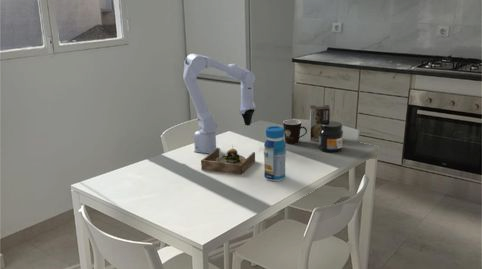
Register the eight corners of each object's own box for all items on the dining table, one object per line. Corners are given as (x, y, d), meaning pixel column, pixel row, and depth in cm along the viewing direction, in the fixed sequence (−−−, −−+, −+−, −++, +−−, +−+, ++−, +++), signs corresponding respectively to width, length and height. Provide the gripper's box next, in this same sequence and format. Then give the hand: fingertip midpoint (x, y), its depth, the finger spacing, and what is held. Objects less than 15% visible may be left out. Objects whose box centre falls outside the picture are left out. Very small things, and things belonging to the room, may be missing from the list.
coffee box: (328, 136, 225) (329, 104, 220) (329, 141, 219) (330, 108, 214) (309, 136, 226) (310, 104, 221) (309, 140, 220) (310, 108, 215)
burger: (212, 165, 192) (212, 148, 190) (226, 156, 202) (226, 140, 200) (238, 170, 187) (237, 153, 185) (251, 160, 197) (250, 144, 195)
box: (201, 169, 188) (201, 160, 187) (217, 156, 202) (217, 148, 200) (241, 174, 181) (241, 165, 180) (255, 161, 195) (255, 152, 194)
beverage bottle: (284, 182, 174) (284, 132, 168) (262, 181, 175) (262, 131, 169) (286, 173, 182) (287, 125, 175) (265, 172, 183) (265, 124, 177)
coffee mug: (279, 141, 220) (279, 121, 217) (294, 138, 224) (295, 118, 221) (292, 148, 210) (292, 127, 207) (308, 145, 214) (308, 124, 211)
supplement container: (344, 153, 203) (345, 127, 199) (320, 153, 203) (321, 127, 199) (339, 145, 213) (341, 120, 209) (317, 145, 213) (317, 120, 209)
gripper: (249, 100, 202) (250, 130, 206) (260, 93, 215) (260, 121, 219) (235, 99, 205) (235, 128, 209) (246, 92, 217) (247, 120, 222)
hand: (247, 125), depth 214 cm, fingers closed
